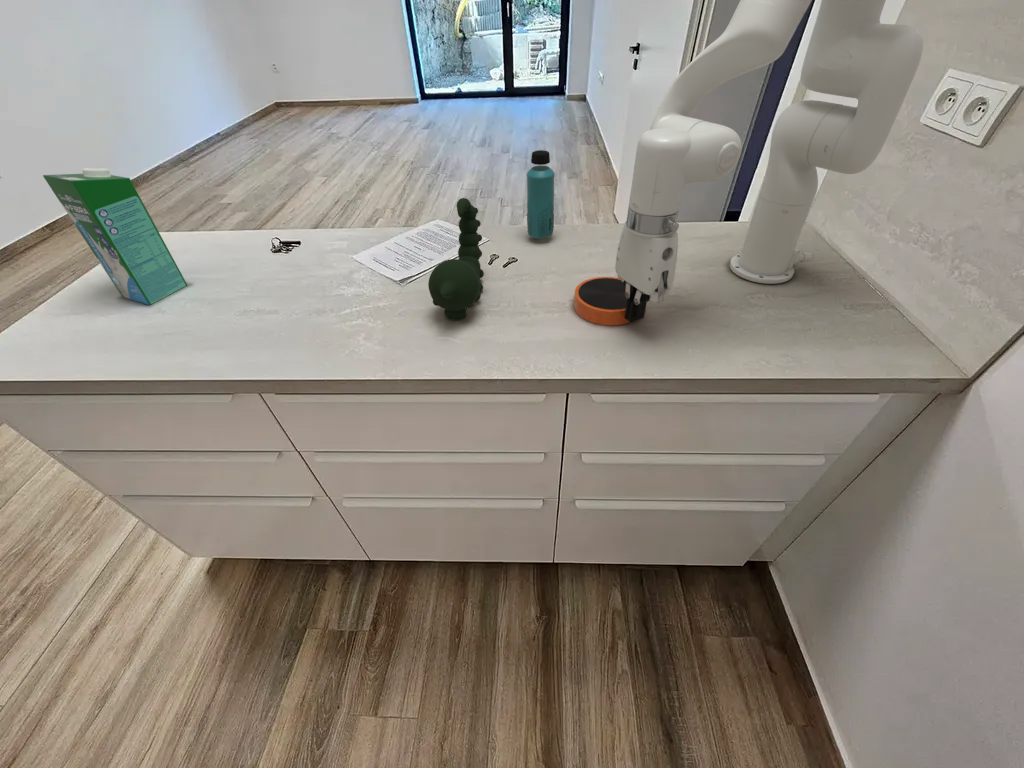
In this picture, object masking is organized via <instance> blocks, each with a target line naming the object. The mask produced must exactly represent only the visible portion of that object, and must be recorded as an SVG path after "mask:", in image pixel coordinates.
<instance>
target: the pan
mask: <svg viewBox="0 0 1024 768" xmlns="http://www.w3.org/2000/svg"><path fill="white" fill-rule="evenodd" d="M573 298H574V299H573V309H574V311H575V313H576V315H578V316H579V317H580V318H582V319H583V320H586V321H587V322H590V323H593V324H596V325H601V326H620V325H625V324H629V323H630V322H629V321H628V320H627V319H625V318H624V317H625V310H626V304H627V300H628V299H627V298H626V296H625V286H624V283H623V282H622V281H621V280H620V279H619V278H618V277H614V276H597V277H591V278H588V279H586V280H583V281H582V282H580V283H579V284H578V285H577V286H576V288H575V289H574V297H573Z"/></svg>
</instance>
